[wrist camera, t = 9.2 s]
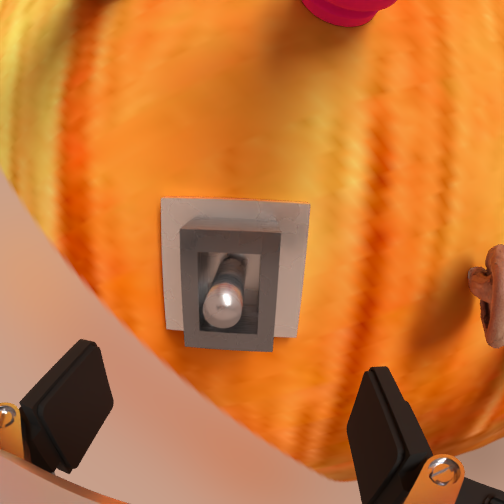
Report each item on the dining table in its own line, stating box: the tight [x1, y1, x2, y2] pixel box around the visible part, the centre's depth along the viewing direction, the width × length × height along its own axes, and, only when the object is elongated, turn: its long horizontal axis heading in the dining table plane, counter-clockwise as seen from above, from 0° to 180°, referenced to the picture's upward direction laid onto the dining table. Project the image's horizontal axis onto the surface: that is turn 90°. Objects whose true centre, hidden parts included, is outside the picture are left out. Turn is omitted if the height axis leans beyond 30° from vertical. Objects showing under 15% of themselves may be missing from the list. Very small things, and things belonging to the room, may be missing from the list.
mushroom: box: [468, 244, 504, 349], centre depth 18 cm, size 8×6×8 cm
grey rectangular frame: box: [180, 217, 281, 352], centre depth 19 cm, size 8×6×4 cm
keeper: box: [161, 196, 310, 337], centre depth 19 cm, size 10×10×7 cm
